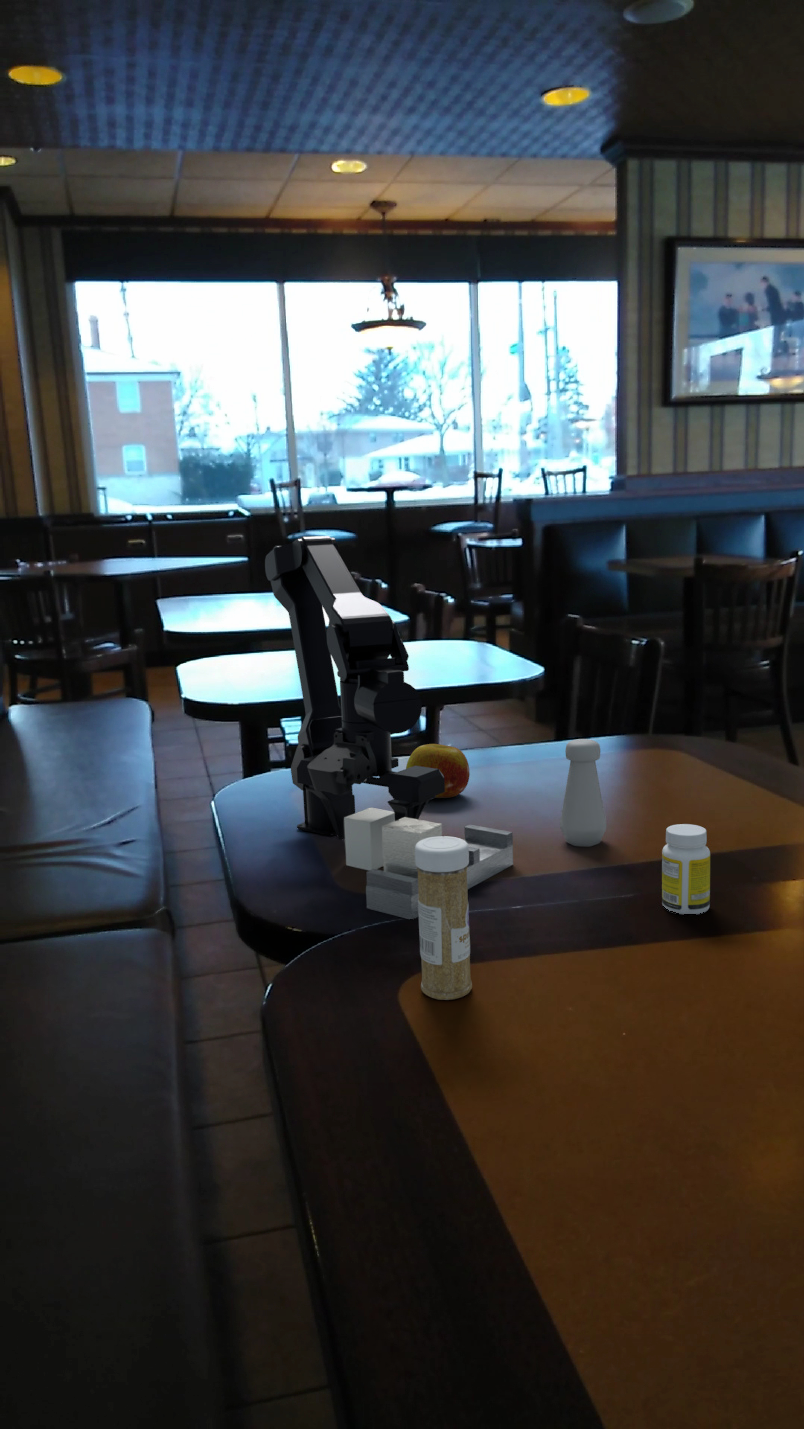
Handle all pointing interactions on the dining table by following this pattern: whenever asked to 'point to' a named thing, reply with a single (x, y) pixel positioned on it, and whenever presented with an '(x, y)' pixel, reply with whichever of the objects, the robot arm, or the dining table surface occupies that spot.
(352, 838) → the matte gray box
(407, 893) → the rail
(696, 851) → the supplement bottle
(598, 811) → the salt shaker
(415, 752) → the fruit
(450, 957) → the spice jar
